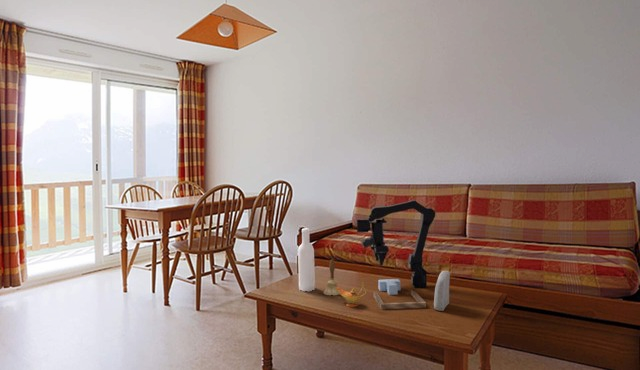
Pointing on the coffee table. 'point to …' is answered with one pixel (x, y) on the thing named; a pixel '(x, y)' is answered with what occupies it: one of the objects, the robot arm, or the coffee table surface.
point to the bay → (418, 304)
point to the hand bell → (331, 281)
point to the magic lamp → (350, 295)
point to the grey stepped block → (390, 286)
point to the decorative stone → (442, 291)
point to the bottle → (306, 263)
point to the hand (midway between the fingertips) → (379, 262)
